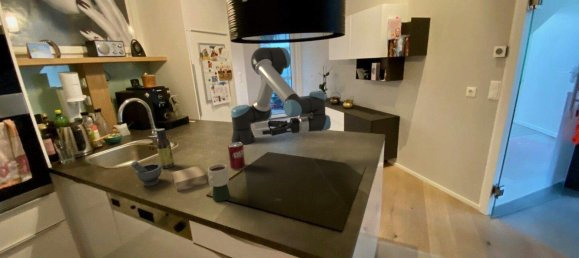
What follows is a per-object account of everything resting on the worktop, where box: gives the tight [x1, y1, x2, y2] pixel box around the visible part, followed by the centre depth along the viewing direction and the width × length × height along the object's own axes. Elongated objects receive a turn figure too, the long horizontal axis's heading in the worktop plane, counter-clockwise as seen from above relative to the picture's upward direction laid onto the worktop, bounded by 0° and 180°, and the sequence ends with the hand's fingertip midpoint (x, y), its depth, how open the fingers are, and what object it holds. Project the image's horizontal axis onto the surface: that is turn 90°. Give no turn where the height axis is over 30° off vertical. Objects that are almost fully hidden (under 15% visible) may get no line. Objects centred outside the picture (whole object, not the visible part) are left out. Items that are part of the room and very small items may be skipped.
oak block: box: [171, 165, 208, 192], centre depth 105 cm, size 12×12×4 cm
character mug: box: [207, 163, 231, 202], centre depth 90 cm, size 11×7×13 cm, turn 161°
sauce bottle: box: [155, 128, 175, 169], centre depth 121 cm, size 6×6×20 cm
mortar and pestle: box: [130, 160, 162, 187], centre depth 105 cm, size 11×9×12 cm
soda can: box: [227, 142, 246, 171], centre depth 117 cm, size 7×7×12 cm
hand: (255, 128), depth 114 cm, fingers open, 13 cm apart
